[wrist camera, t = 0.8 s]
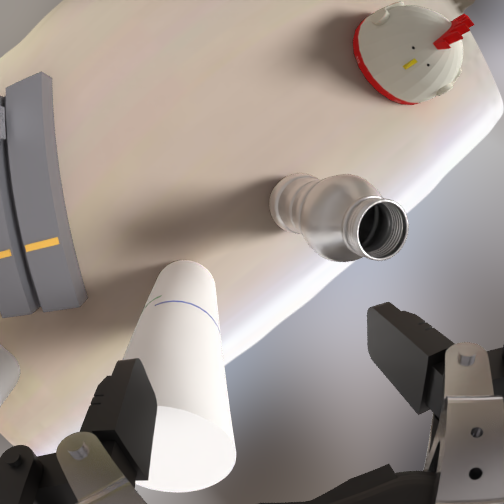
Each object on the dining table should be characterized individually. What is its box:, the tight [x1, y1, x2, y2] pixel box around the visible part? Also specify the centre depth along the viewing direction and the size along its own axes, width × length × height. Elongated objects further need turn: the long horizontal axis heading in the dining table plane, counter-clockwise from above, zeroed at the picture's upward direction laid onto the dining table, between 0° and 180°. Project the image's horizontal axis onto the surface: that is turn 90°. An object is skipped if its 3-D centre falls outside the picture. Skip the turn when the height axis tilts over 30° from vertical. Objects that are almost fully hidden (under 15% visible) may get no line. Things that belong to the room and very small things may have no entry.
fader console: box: [0, 72, 88, 318], centre depth 30 cm, size 28×13×3 cm, turn 9°
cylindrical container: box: [123, 260, 236, 492], centre depth 25 cm, size 7×7×25 cm
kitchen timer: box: [353, 1, 474, 105], centre depth 27 cm, size 14×14×15 cm
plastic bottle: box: [269, 173, 409, 262], centre depth 27 cm, size 6×7×20 cm
